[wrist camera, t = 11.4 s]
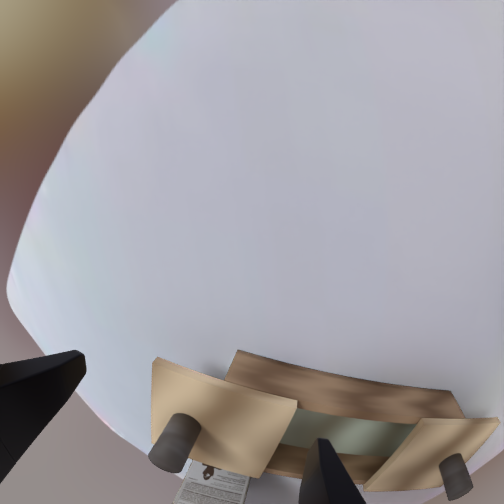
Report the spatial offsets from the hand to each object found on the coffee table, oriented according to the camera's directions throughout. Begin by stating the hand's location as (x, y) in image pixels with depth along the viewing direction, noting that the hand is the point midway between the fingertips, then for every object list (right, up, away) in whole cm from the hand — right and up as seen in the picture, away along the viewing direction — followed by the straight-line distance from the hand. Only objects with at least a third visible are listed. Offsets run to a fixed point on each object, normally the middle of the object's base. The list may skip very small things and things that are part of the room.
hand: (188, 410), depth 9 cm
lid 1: (-1, -8, +10) cm, 13 cm away
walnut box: (+10, -9, +13) cm, 19 cm away
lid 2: (+18, -13, +8) cm, 24 cm away
